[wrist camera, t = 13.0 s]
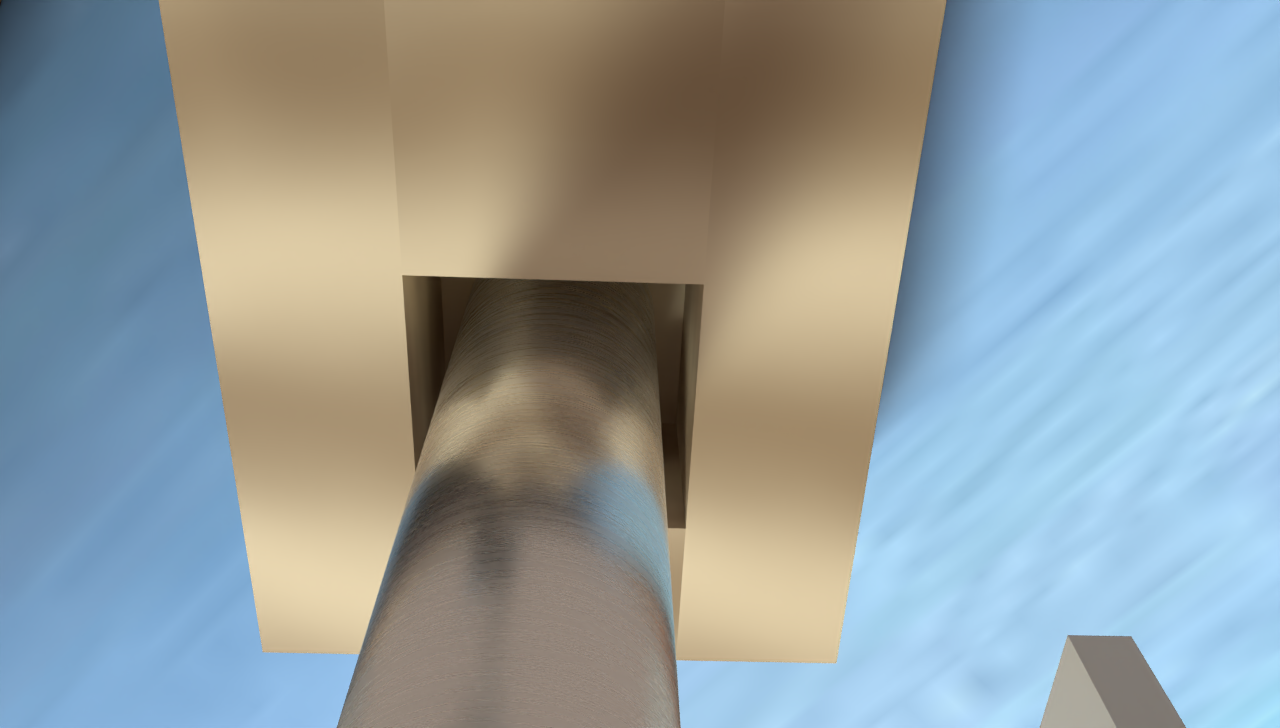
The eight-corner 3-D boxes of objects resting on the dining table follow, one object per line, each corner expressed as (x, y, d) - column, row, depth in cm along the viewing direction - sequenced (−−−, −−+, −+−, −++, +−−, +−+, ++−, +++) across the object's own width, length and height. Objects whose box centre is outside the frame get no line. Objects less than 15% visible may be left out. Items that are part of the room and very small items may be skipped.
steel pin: (467, 223, 22) (273, 752, 10) (660, 232, 22) (708, 766, 10) (470, 392, 24) (309, 1016, 12) (647, 399, 24) (675, 1024, 12)
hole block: (163, -846, 16) (-18, -1100, 11) (978, -791, 16) (1116, -1018, 12) (321, 511, 27) (262, 652, 22) (801, 522, 27) (836, 663, 23)
